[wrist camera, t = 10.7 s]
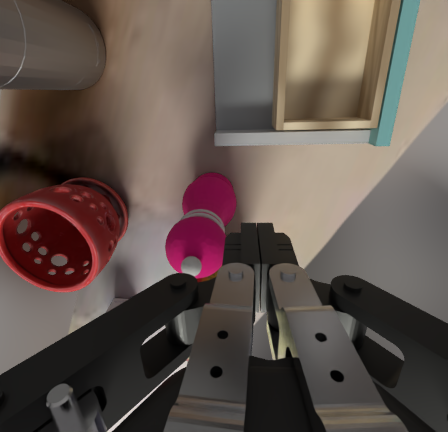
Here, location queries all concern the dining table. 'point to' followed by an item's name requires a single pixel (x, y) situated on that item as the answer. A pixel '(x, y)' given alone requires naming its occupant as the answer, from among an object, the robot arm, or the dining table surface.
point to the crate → (331, 62)
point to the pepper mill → (202, 226)
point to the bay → (264, 77)
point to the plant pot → (63, 233)
